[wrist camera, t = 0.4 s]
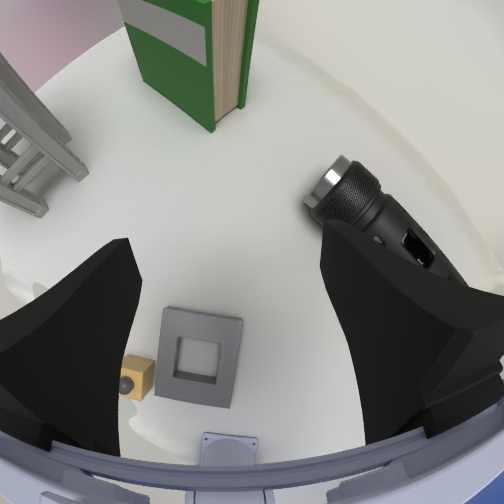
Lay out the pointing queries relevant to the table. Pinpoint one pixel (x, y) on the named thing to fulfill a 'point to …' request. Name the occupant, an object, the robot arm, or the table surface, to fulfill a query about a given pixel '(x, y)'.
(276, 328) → the table surface
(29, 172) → the stool
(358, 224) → the muzzle brake
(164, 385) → the socket housing
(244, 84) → the hardback book
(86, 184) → the table surface
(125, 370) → the plug
